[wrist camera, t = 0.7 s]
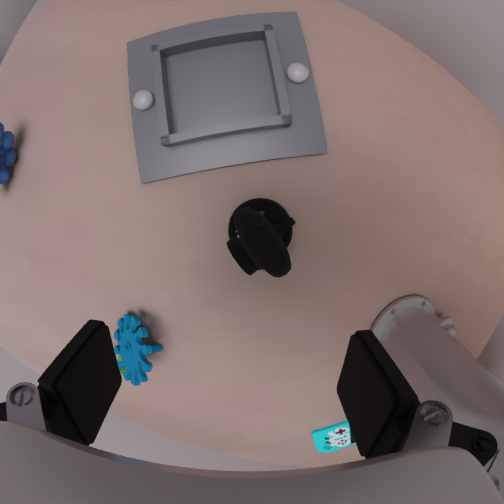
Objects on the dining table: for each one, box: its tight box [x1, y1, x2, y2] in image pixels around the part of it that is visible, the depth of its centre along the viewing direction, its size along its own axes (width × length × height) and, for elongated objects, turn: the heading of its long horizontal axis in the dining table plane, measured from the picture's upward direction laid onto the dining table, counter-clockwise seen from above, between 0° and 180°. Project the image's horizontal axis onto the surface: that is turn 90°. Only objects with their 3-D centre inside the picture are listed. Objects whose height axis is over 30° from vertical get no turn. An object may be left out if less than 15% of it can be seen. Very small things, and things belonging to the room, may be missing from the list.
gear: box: [114, 314, 162, 385], centre depth 35 cm, size 11×6×10 cm
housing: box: [127, 12, 327, 184], centre depth 27 cm, size 22×20×4 cm
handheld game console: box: [312, 420, 356, 453], centre depth 44 cm, size 10×16×1 cm, turn 107°
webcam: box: [227, 198, 295, 277], centre depth 28 cm, size 8×8×10 cm
